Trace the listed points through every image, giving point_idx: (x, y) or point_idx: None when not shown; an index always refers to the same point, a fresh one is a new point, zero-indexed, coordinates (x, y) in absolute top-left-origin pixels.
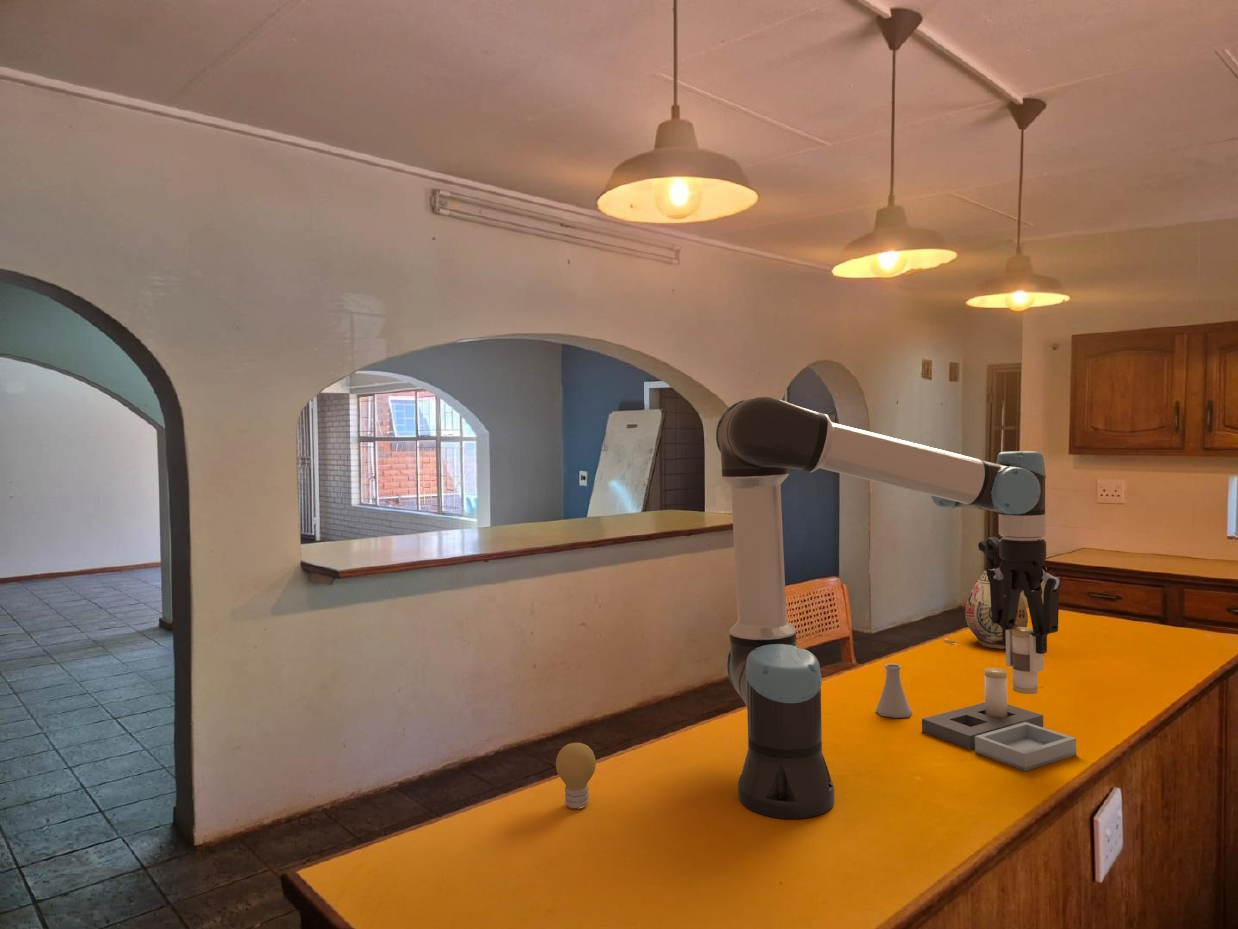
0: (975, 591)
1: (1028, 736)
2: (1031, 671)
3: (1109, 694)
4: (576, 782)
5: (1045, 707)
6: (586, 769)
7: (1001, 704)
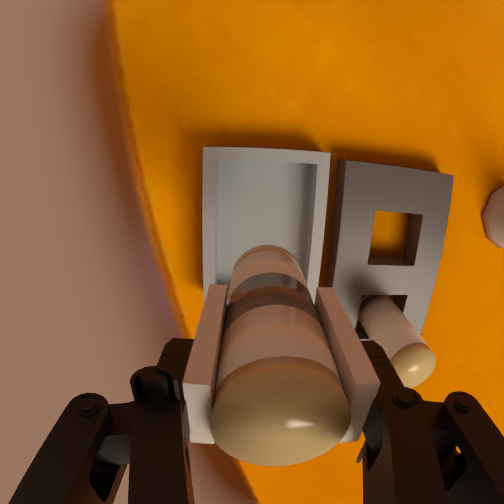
0: None
1: None
2: (220, 285)
3: (317, 485)
4: None
5: None
6: None
7: (373, 323)
